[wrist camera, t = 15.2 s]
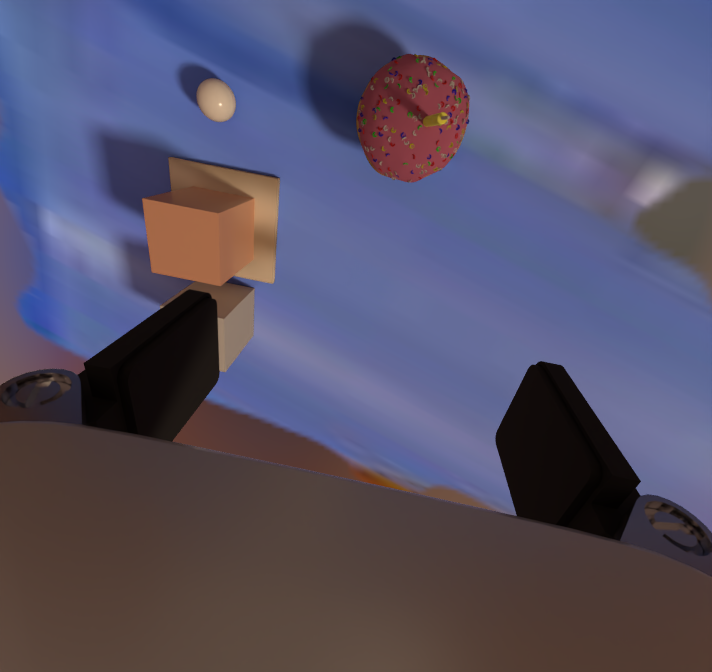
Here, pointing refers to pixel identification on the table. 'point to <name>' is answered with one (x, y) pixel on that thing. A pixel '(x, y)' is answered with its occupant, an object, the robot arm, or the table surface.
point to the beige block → (229, 317)
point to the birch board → (243, 185)
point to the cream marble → (216, 100)
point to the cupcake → (412, 117)
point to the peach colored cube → (199, 234)
